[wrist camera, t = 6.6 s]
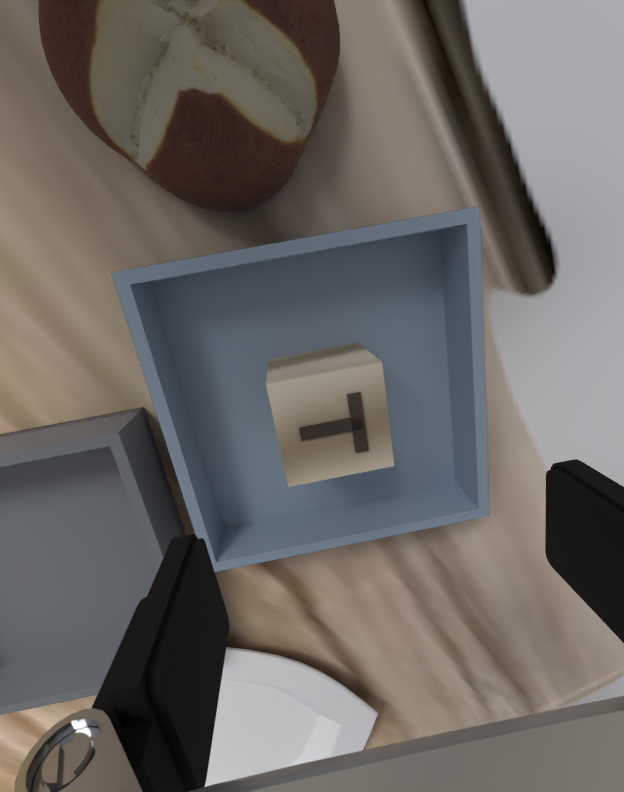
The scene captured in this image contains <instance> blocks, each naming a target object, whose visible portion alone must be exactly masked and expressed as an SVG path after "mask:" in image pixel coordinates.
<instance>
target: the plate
mask: <svg viewBox="0 0 624 792" xmlns="http://www.w3.org/2000/svg"><path fill="white" fill-rule="evenodd" d="M377 715H378V713H377V711H376V710H374V709H373V708H372V707H371V706H369V705H368V704H367V703H366V702H364V701H363V700H362V699H361V698H359V697H358V696H357V695H355V694H354V693H353V692H352V691H350V690H349V689H348V688H346V687H345V686H344V685H342V684H341V683H339V682H338V681H336V680H334V679H333V678H331V677H329V676H328V675H326V674H324V673H323V672H321V671H319V670H317V669H315V668H312V667H310V666H308V665H306V664H304V663H301V662H298V661H295V660H292V659H288V658H285V657H282V656H279V655H274V654H269V653H264V652H258V651H253V650H247V649H239V648H230V647H226V653H225V660H224V666H223V673H222V679H221V686H220V693H219V699H218V706H217V712H216V719H215V726H214V732H213V739H212V745H211V752H210V759H209V765H208V772H207V778H206V783H205V787H206V786H210V785H213V784H217V783H222V782H226V781H230V780H234V779H238V778H243V777H247V776H251V775H255V774H259V773H264V772H268V771H272V770H276V769H281V768H285V767H289V766H293V765H298V764H302V763H307V762H312V761H316V760H321V759H325V758H330V757H335V756H339V755H344V754H349V753H353V752H358V751H363V749H364V746H365V744H366V742H367V740H368V738H369V735H370V733H371V731H372V728H373V726H374V723H375V720H376V718H377Z"/></svg>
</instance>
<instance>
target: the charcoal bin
mask: <svg viewBox="0 0 624 792" xmlns="http://www.w3.org/2000/svg"><path fill="white" fill-rule="evenodd" d="M180 536H186V535H185V532H184V529H183V526H182V523H181V520H180V517H179V514H178V511H177V508H176V505H175V502H174V499H173V496H172V493H171V490H170V487H169V484H168V481H167V478H166V475H165V472H164V469H163V466H162V463H161V460H160V457H159V454H158V451H157V448H156V445H155V442H154V439H153V436H152V433H151V430H150V427H149V424H148V421H147V418H146V415H145V412H144V409H143V407H142V408H137V409H132V410H127V411H121V412H116V413H111V414H106V415H100V416H95V417H90V418H85V419H79V420H74V421H69V422H64V423H58V424H53V425H48V426H43V427H37V428H32V429H27V430H22V431H16V432H11V433H6V434H1V435H0V715H2V714H7V713H12V712H17V711H21V710H26V709H31V708H35V707H40V706H45V705H50V704H54V703H59V702H64V701H69V700H73V699H78V698H83V697H87V696H92V695H97V694H98V693H99V691H100V688H101V686H102V684H103V682H104V679H105V677H106V675H107V673H108V670H109V668H110V666H111V664H112V661H113V659H114V657H115V655H116V652H117V650H118V648H119V646H120V643H121V641H122V639H123V637H124V634H125V632H126V630H127V628H128V625H129V623H130V621H131V619H132V616H133V614H134V612H135V610H136V607H137V605H138V604H139V602H140V600H142V599H143V598H144V597H147V595H148V593H149V590H150V588H151V586H152V583H153V581H154V579H155V576H156V574H157V572H158V569H159V567H160V565H161V562H162V560H163V558H164V555H165V553H166V551H167V548H168V546H169V544H170V541H171V540H172V539H173V538H175V537H180Z"/></svg>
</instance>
